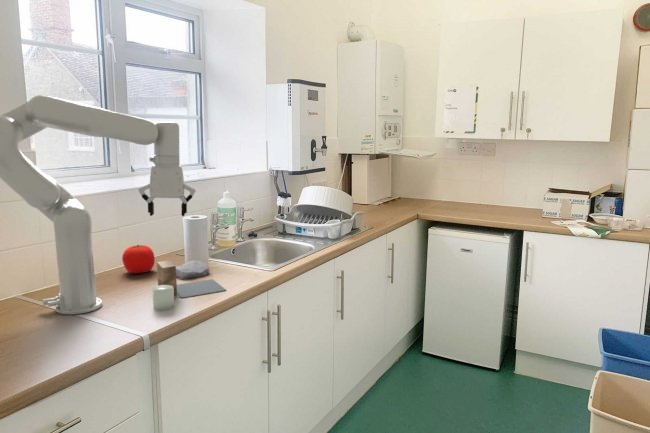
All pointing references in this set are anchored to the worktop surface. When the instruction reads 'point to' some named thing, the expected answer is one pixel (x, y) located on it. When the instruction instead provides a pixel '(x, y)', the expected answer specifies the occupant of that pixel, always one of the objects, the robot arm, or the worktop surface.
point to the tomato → (138, 259)
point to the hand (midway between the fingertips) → (167, 215)
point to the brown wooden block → (167, 274)
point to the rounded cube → (163, 297)
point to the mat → (198, 288)
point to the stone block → (191, 270)
